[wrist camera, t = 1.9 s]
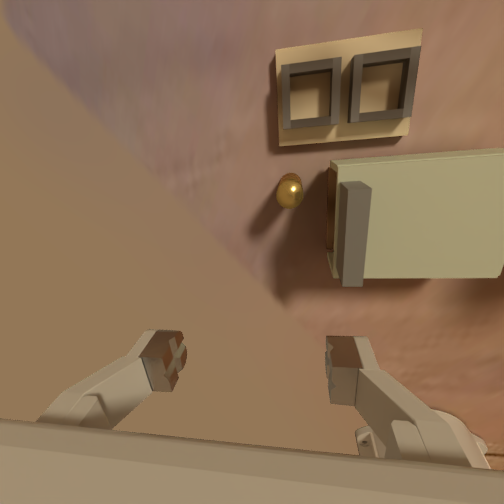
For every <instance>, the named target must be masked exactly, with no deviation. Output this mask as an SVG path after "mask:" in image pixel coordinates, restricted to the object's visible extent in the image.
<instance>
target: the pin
mask: <svg viewBox="0 0 504 504" xmlns="http://www.w3.org/2000/svg"><path fill="white" fill-rule="evenodd" d="M276 198H277V201H278V203H279V204H280V205H281V206H282V207H284V208H287V209H292V208H295V207H297V206H298V205H299V204H300V203H301V202H302V200H303V188H302V183H301V179H300V177H299V176H298V175H296V174H294V173H287V174H285V175H284V176H283V177H282V178H281V180H280V183H279V186H278V190H277V194H276Z"/></svg>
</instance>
